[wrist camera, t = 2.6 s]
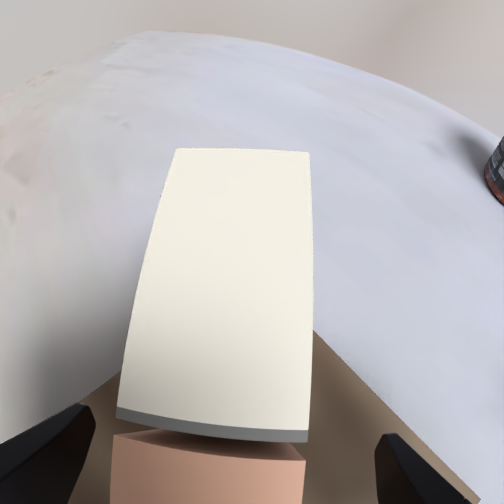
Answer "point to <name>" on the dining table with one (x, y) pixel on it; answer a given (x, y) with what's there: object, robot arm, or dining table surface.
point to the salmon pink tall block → (203, 470)
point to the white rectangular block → (225, 300)
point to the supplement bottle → (496, 171)
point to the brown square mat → (313, 451)
